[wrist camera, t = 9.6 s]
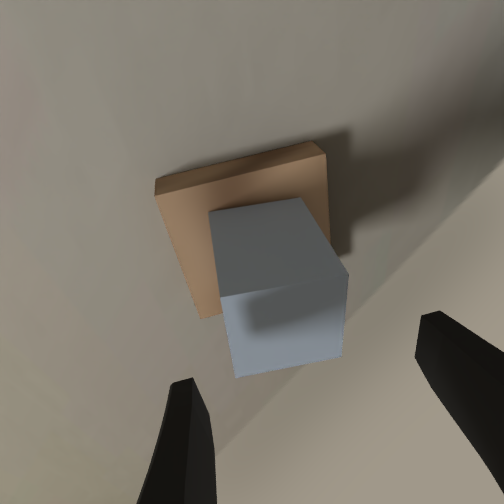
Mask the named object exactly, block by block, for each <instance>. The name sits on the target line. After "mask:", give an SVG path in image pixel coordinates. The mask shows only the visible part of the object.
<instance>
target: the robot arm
mask: <svg viewBox="0 0 504 504" xmlns="http://www.w3.org/2000/svg"><path fill="white" fill-rule="evenodd" d="M415 359H416V360H417V363H418V364H419V366H420V368H421V370H422V372H423V374H424V375H425V377H426V379H427V381H428V382H429V384H430V386H431V388H432V389H433V391H434V392H435V393H436V395H437V396H438V398H439V399H440V401H441V402H442V403H443V405H444V406H445V408H446V409H447V411H448V412H449V413H450V415H451V416H452V417H453V419H454V420H455V422H456V423H457V425H458V426H459V427H460V429H461V430H462V432H463V433H464V434H465V436H466V437H467V439H468V440H469V441H470V443H471V444H472V446H473V447H474V448H475V450H476V451H477V452H478V454H479V455H480V457H481V458H482V460H483V461H484V463H485V464H486V466H487V467H488V469H489V470H490V472H491V473H492V475H493V477H494V478H495V480H496V482H497V483H498V485H499V487H500V488H501V490H502V492H503V493H504V352H502V351H501V350H499V349H498V348H496V347H495V346H493V345H492V344H490V343H488V342H487V341H485V340H484V339H482V338H481V337H479V336H478V335H476V334H475V333H473V332H472V331H470V330H469V329H467V328H466V327H464V326H463V325H461V324H460V323H458V322H457V321H455V320H454V319H452V318H451V317H449V316H447V315H446V314H444V313H443V312H441V311H436V312H432V313H429V314H425V315H422V316H421V320H420V327H419V333H418V339H417V345H416V352H415ZM215 473H216V472H215V452H214V443H213V436H212V429H211V423H210V416H209V413H208V410H207V408H206V406H205V404H204V401H203V399H202V397H201V395H200V392H199V390H198V388H197V386H196V383H195V381H194V379H193V378H189V379H185V380H181V381H178V382H174V383H172V384H171V386H170V390H169V395H168V400H167V404H166V409H165V413H164V417H163V421H162V425H161V429H160V432H159V436H158V439H157V443H156V446H155V449H154V453H153V456H152V459H151V463H150V466H149V469H148V472H147V475H146V478H145V481H144V484H143V487H142V489H141V492H140V495H139V498H138V501H137V504H217V494H216V474H215Z"/></svg>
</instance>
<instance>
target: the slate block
mask: <svg viewBox="0 0 504 504" xmlns="http://www.w3.org/2000/svg"><path fill="white" fill-rule="evenodd" d="M208 216H209V223H210V230H211V237H212V244H213V251H214V258H215V265H216V273H217V280H218V287H219V294H220V300H221V305H222V310H223V316H224V321H225V326H226V331H227V336H228V342H229V347H230V352H231V357H232V362H233V368H234V373H235V378H239V377H244V376H249V375H253V374H258V373H263V372H268V371H273V370H278V369H283V368H288V367H293V366H298V365H303V364H308V363H313V362H318V361H323V360H328V359H333V358H338V357H341V355H342V344H343V333H344V322H345V311H346V300H347V289H348V278H349V274H348V272H347V271H346V269H345V267H344V266H343V264H342V263H341V261H340V259H339V258H338V256H337V254H336V253H335V251H334V250H333V248H332V246H331V245H330V243H329V242H328V240H327V238H326V237H325V235H324V234H323V232H322V230H321V229H320V227H319V226H318V224H317V222H316V221H315V219H314V218H313V216H312V214H311V213H310V211H309V210H308V208H307V206H306V205H305V203H304V201H303V200H302V198H301V197H299V198H293V199H287V200H280V201H274V202H268V203H262V204H256V205H249V206H243V207H237V208H231V209H224V210H218V211H212V212H208Z"/></svg>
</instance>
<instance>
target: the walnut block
mask: <svg viewBox="0 0 504 504" xmlns="http://www.w3.org/2000/svg"><path fill="white" fill-rule="evenodd" d="M154 196H155V199H156V202H157V204H158V207H159V210H160V212H161V215H162V218H163V220H164V223H165V226H166V228H167V231H168V234H169V236H170V239H171V242H172V244H173V247H174V250H175V252H176V255H177V258H178V260H179V263H180V266H181V268H182V271H183V274H184V276H185V279H186V282H187V284H188V287H189V290H190V292H191V295H192V298H193V300H194V303H195V306H196V308H197V311H198V314H199V316H200V319H203V318H206V317H210V316H214V315H217V314H221V313H223V310H222V305H221V300H220V294H219V287H218V280H217V273H216V265H215V258H214V251H213V244H212V237H211V230H210V223H209V216H208V212H212V211H218V210H224V209H231V208H237V207H243V206H249V205H256V204H262V203H268V202H274V201H280V200H287V199H293V198H299V197H301V198H302V200H303V201H304V203H305V205H306V206H307V208H308V210H309V211H310V213H311V214H312V216H313V218H314V219H315V221H316V222H317V224H318V226H319V227H320V229H321V230H322V232H323V234H324V235H325V237H326V238H327V240H328V242H329V243H330V245H331V238H330V220H329V202H328V184H327V166H326V153H325V152H323V151H322V150H321V149H320V148H319V147H318V146H317V145H316V144H315V143H314V142H313V141H308V142H304V143H300V144H296V145H292V146H288V147H284V148H280V149H276V150H271V151H267V152H263V153H259V154H255V155H251V156H247V157H243V158H239V159H235V160H231V161H226V162H222V163H218V164H214V165H210V166H206V167H202V168H198V169H194V170H190V171H186V172H181V173H177V174H173V175H169V176H165V177H161V178H157V179H156V180H155V195H154Z"/></svg>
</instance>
